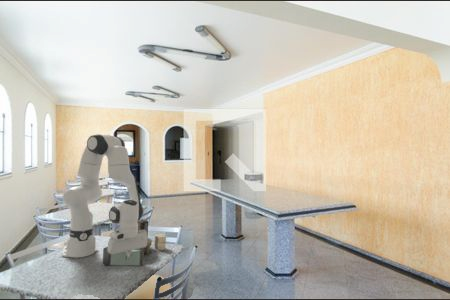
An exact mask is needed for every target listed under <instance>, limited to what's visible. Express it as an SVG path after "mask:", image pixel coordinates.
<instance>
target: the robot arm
mask: <svg viewBox="0 0 450 300" xmlns="http://www.w3.org/2000/svg"><path fill="white" fill-rule="evenodd" d="M105 156H106V158H107V173H108V176H109V178H110V179H111V180H112V181H113V182H116V183H118V184H121V185H123V186H124V187H126V188H127V191H128V196H129V199H125V200H123V201H122V202H121V203H120V204H116V205H112V207H111V208H110V209H109V212H108V218H109V221H110V222H112V223H113V224H120V226H119V228H118V229H116V230H114V231H112V232H110V234H109V235H110V238H109V240H108V242H107V247H108V249H107V251H108V253H109V254H111V255H112V254H117V253H121V252H124V254H125V259H126V260H127V259H130V255H131V253H132V250H135V249H139V248H144V247H146V246H147V231H146V230H139V231H138V220H141V219H142V217H143V215H144V208H143V205H142V202H141V197H140V191H139V187H138V182H137V179H136V176H135V175H134V174H133V173H132V171H131V168H130V158H129V152H128V149H127V148H126V143H125V141H124V139H122V138H120V137H118V136H114V135H110V134H100V133H99V134H98V133H96V134H92V135H90V136H88V139H87V141H86V146H85V147H84V150H83V152H82V155H81V158H80V161H79V166H78V170H77V175H78V177H79V178H80V185H78V186H72V187H70V188H68V189H66V190H65V191H64V192H63V193H62V202H63V203H64V205H65V206H66V207H68V209H69V211H70V212H69V214H70V218H71V220H70V230H69V237H68V239H67V240H66V241H64V243H63V245H64V246H63V249H62V254H61V257H63V258H64V257H65V258H72V259H73V258H75V259H78V258H84V257H88V256H92V255H93V254H95V253H96V252H98V251H99V248H98V247H96V237H95V236H94V227H93V223H94V221H93V220H94V215H93V213H92V212H91V211H90V209H89V204H92V203H95V202H97V201H98V200H100V199H101V198H102V195H103V191H102V188H101V187H100V184H99V177H100V176H99V175H100V173H101V167H102V163H103V159H104V157H105ZM139 250H140V249H139ZM127 253H128V254H127Z"/></svg>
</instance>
